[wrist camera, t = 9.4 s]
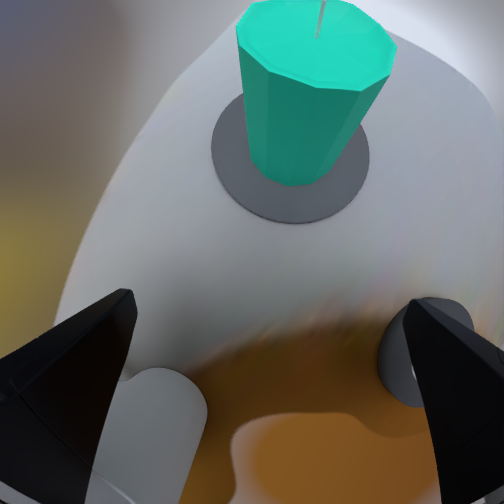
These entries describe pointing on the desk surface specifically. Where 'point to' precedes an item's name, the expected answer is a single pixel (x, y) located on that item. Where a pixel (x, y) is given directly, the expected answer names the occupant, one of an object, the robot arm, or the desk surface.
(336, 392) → the desk surface
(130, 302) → the robot arm
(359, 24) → the candle
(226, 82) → the desk surface
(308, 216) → the slate coaster
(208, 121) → the desk surface
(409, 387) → the dark grey washer
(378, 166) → the desk surface
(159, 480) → the mug
